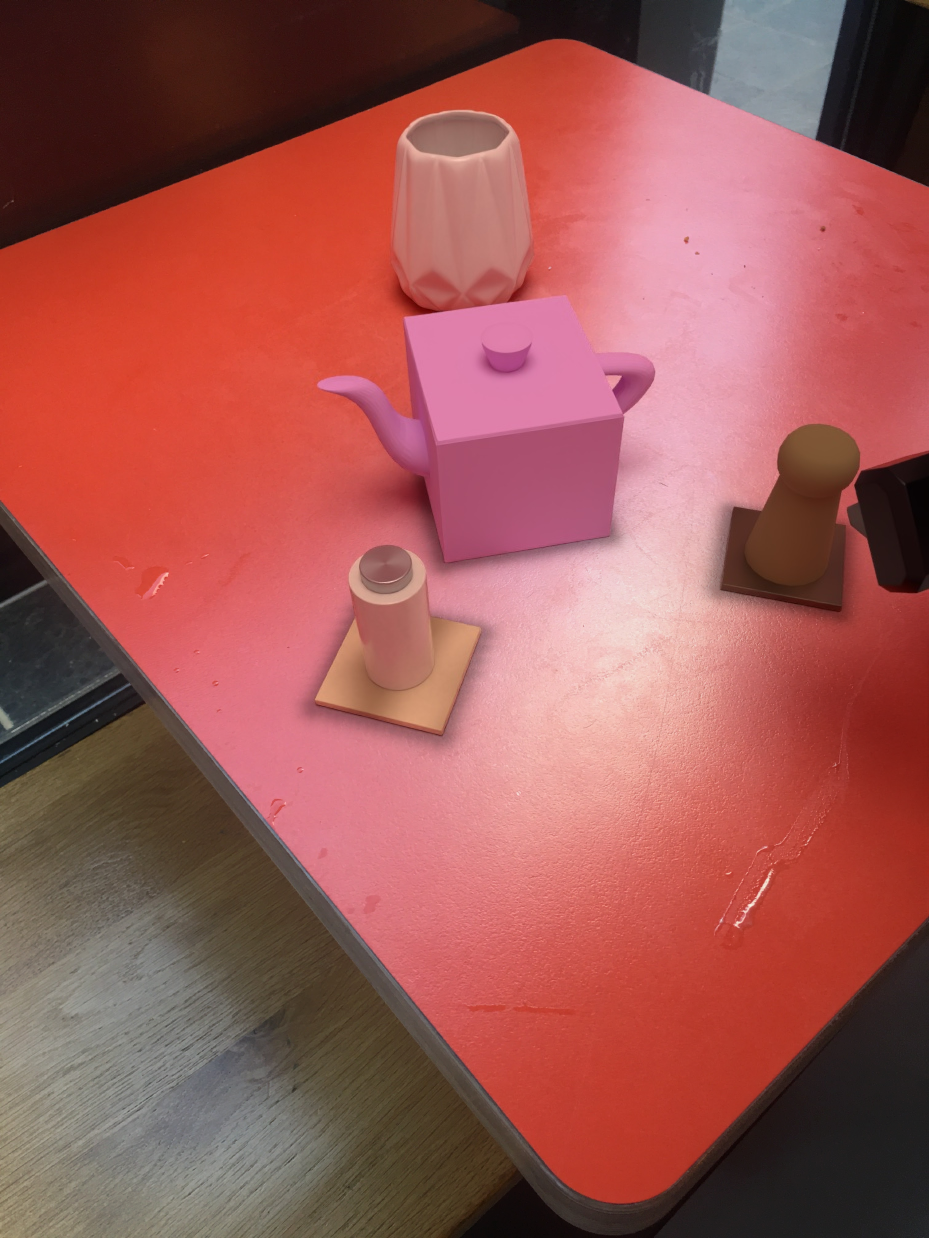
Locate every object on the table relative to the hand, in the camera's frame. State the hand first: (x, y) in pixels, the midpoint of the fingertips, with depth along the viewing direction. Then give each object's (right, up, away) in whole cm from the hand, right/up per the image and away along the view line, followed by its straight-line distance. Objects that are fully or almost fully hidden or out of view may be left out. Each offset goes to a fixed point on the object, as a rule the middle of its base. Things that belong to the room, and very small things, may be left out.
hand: (916, 493), depth 54 cm
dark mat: (-3, -3, +15) cm, 16 cm away
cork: (-3, -3, +15) cm, 15 cm away
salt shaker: (-31, -10, +10) cm, 34 cm away
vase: (-27, +26, +41) cm, 55 cm away
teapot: (-24, +3, +22) cm, 33 cm away
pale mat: (-31, -11, +10) cm, 34 cm away
